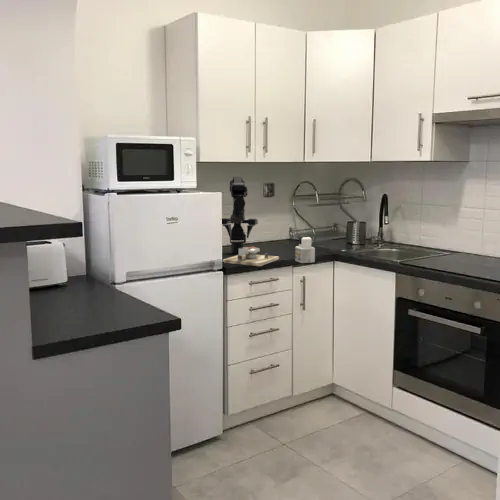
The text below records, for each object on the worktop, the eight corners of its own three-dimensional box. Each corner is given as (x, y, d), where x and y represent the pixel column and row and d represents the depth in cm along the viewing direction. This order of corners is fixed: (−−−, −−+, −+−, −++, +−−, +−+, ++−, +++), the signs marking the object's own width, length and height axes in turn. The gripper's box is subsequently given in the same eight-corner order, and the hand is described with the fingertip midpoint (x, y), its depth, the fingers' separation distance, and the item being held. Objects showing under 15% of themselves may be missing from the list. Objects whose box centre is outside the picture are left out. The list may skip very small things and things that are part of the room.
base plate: (222, 262, 287) (222, 253, 286) (243, 256, 306) (243, 247, 305) (259, 266, 277) (259, 256, 276) (279, 259, 296) (279, 250, 295)
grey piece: (247, 250, 297) (247, 244, 296) (262, 251, 292) (262, 245, 292) (233, 254, 283) (233, 248, 283) (248, 256, 279) (248, 249, 278)
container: (295, 260, 291) (295, 236, 289) (308, 259, 294) (308, 235, 291) (301, 263, 284) (301, 238, 282) (315, 262, 286) (315, 237, 284)
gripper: (216, 208, 278) (217, 239, 281) (252, 209, 274) (252, 240, 276) (223, 207, 289) (223, 236, 291) (257, 207, 284) (257, 237, 287)
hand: (239, 238), depth 286 cm, fingers open, 9 cm apart
